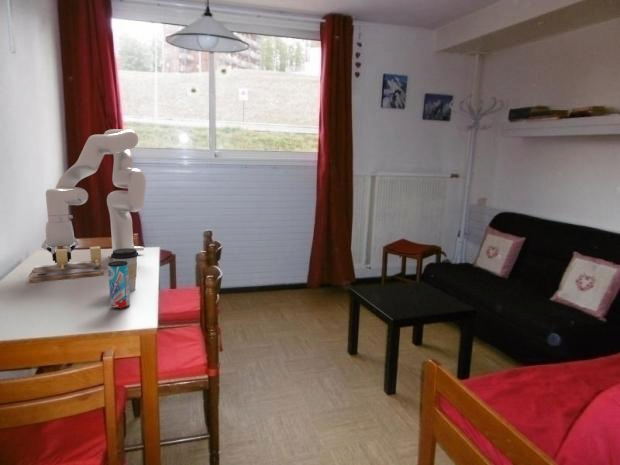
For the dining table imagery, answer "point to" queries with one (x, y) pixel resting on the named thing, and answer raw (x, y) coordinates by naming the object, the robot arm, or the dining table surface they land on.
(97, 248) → the fixed leg
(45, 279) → the board
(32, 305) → the dining table surface
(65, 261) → the block
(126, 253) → the coffee cup
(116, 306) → the beverage can
